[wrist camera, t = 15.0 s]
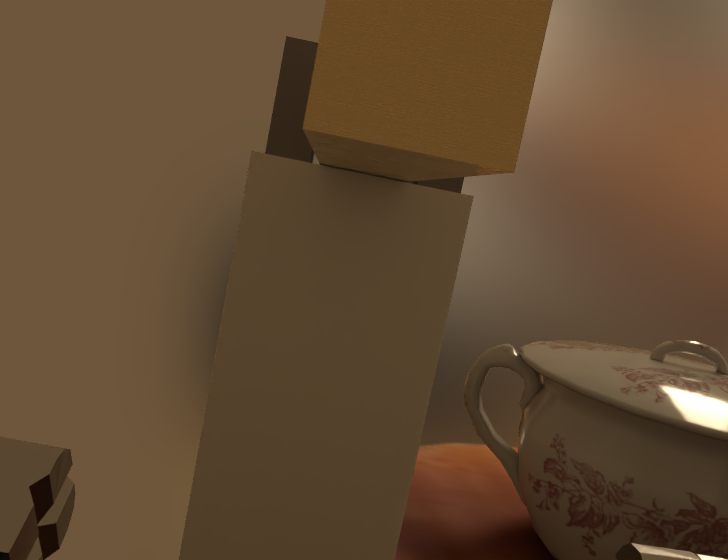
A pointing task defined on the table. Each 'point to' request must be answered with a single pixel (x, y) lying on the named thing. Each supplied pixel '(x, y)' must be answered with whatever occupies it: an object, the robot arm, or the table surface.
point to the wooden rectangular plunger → (424, 86)
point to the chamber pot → (615, 445)
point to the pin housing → (322, 351)
